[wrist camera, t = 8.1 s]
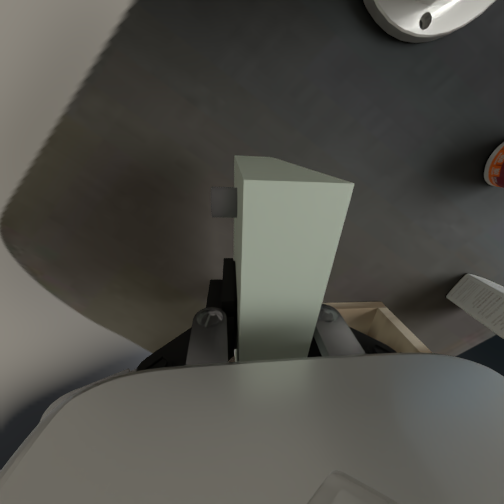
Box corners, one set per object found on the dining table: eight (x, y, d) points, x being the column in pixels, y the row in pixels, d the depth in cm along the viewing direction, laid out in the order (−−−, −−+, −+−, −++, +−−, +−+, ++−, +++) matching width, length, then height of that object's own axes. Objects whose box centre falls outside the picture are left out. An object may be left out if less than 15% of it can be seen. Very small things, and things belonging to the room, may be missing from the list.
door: (218, 154, 13) (193, 178, 4) (284, 157, 13) (392, 185, 4) (223, 328, 20) (218, 471, 11) (265, 326, 21) (292, 462, 12)
